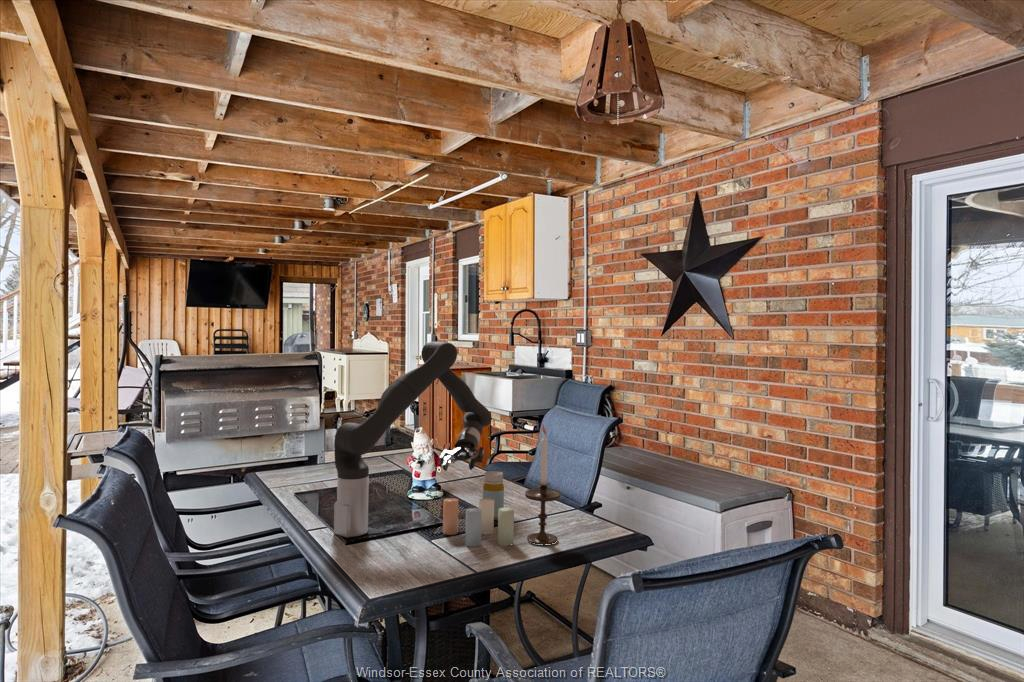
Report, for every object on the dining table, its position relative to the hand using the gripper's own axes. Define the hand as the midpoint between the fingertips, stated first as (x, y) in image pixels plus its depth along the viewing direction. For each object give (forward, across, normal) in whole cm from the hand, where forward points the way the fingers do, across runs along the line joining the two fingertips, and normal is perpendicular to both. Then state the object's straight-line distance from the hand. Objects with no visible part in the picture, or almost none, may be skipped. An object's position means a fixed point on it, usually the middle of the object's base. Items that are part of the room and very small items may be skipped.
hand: (457, 467), depth 198 cm
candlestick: (+16, +27, +16) cm, 36 cm away
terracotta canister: (+15, -1, +14) cm, 20 cm away
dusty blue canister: (+23, +8, +12) cm, 27 cm away
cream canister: (+12, +9, +16) cm, 22 cm away
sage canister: (+20, +17, +14) cm, 30 cm away
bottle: (-1, +8, +21) cm, 23 cm away
